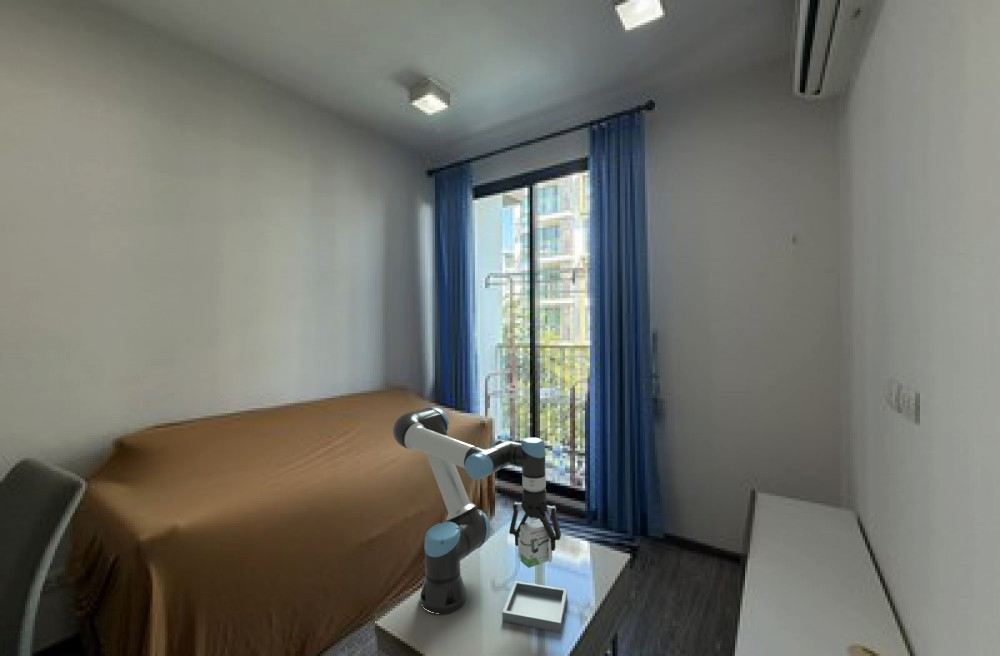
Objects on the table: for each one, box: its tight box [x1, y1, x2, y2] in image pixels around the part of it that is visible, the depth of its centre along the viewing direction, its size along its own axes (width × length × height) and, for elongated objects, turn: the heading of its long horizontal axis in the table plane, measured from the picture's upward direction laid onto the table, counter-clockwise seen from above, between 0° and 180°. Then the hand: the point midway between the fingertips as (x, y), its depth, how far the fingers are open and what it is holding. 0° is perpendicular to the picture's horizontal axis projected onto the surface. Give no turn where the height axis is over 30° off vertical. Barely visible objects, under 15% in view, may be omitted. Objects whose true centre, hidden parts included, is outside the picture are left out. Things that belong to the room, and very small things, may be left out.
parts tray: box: [501, 580, 568, 634], centre depth 131 cm, size 18×16×3 cm
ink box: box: [519, 518, 549, 569], centre depth 131 cm, size 9×5×12 cm, turn 119°
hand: (535, 557), depth 131 cm, fingers closed on ink box, 9 cm apart
